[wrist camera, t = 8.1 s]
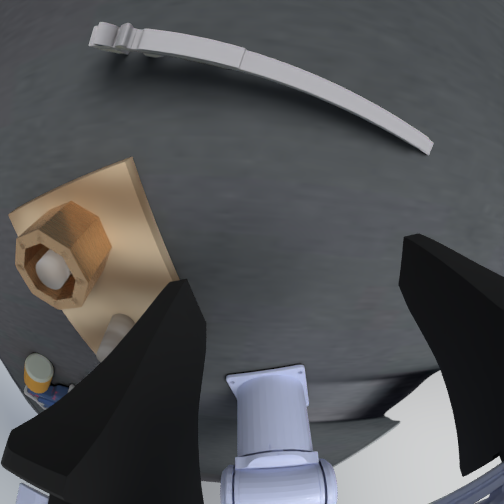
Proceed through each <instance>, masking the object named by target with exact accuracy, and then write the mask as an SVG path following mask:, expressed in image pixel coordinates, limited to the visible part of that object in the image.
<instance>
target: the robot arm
mask: <svg viewBox="0 0 504 504" xmlns="http://www.w3.org/2000/svg"><path fill="white" fill-rule="evenodd" d="M399 287H400V289H401V292H402V294H403V297H404V299H405V301H406V304H407V306H408V308H409V310H410V312H411V314H412V316H413V317H414V319H415V321H416V323H417V325H418V326H419V328H420V330H421V332H422V334H423V335H424V337H425V339H426V341H427V343H428V345H429V347H430V348H431V350H432V352H433V354H434V356H435V358H436V360H437V363H438V365H439V367H440V370H441V372H442V376H443V379H444V381H445V384H446V388H447V390H448V394H449V398H450V402H451V406H452V409H453V414H454V419H455V425H456V430H457V437H458V446H459V459H460V470H461V473H462V476H463V477H464V476H466V475H468V474H470V473H472V472H473V471H475V470H477V469H479V468H480V467H482V466H484V465H486V464H487V463H489V462H490V461H492V460H494V459H495V458H497V457H498V456H500V458H501V461H502V463H500V464H499V465H497V466H496V467H495V468H493V469H491V470H490V471H488V472H487V473H485V474H484V475H482V476H481V477H479V478H477V479H476V480H474V481H472V482H471V483H469V484H467V485H465V486H463V487H462V488H460V489H458V490H456V491H454V492H452V493H450V494H448V495H447V496H444V497H442V498H440V499H438V500H436V501H434V502H431V503H429V504H474V503H475V502H477V501H479V500H480V499H482V498H484V497H485V496H487V495H488V494H490V496H489V498H487V499H484V500H482V501H480V502H478V503H475V504H504V277H503V276H501V275H499V274H497V273H495V272H493V271H491V270H489V269H487V268H485V267H483V266H481V265H479V264H477V263H476V262H474V261H472V260H470V259H468V258H466V257H465V256H463V255H461V254H459V253H457V252H455V251H454V250H452V249H450V248H448V247H446V246H444V245H442V244H440V243H439V242H437V241H435V240H433V239H430V238H428V237H426V236H424V235H421V234H414V235H410V236H405V237H404V241H403V252H402V261H401V270H400V278H399ZM205 353H206V321H205V319H204V317H203V315H202V313H201V310H200V308H199V306H198V304H197V301H196V299H195V297H194V295H193V292H192V290H191V288H190V285H189V283H188V281H187V279H183V280H177V281H172V282H169V283H168V284H167V285H166V286H165V288H164V289H163V290H162V291H161V292H160V294H159V295H158V296H157V297H156V298H155V300H154V301H153V302H152V303H151V305H150V306H149V307H148V309H147V310H146V311H145V312H144V313H143V315H142V316H141V317H140V318H139V320H138V321H137V322H136V324H135V325H134V326H133V327H132V328H131V329H130V331H129V332H128V333H127V334H126V335H125V336H124V338H123V339H122V340H121V341H120V342H119V344H118V345H117V346H116V347H115V348H114V349H113V350H112V352H111V353H110V354H109V355H108V356H107V357H106V358H105V359H104V360H103V361H102V362H101V363H100V364H99V365H98V366H97V367H96V368H95V369H94V370H93V371H92V372H91V373H90V374H89V375H88V376H87V377H86V378H84V379H83V380H82V381H81V382H80V383H79V384H78V385H76V386H75V387H74V388H73V389H72V390H71V391H70V392H68V393H67V394H66V395H65V396H64V397H62V398H61V399H60V400H58V401H57V402H56V403H54V404H53V405H52V406H50V407H49V408H47V409H46V410H44V411H43V412H42V413H40V414H38V415H37V416H35V417H34V418H32V419H30V420H29V421H27V422H25V423H23V424H22V425H20V426H18V427H17V428H15V429H13V430H12V431H11V433H10V435H9V438H8V441H7V444H6V447H5V450H4V454H3V457H2V461H1V464H2V466H3V467H4V468H5V469H7V470H8V471H10V472H11V473H13V474H15V475H16V476H18V477H20V478H21V479H23V480H25V481H26V482H28V483H30V484H32V485H34V486H35V487H37V488H39V489H41V490H43V491H45V492H47V493H49V494H50V496H47V495H45V494H43V493H41V492H39V491H38V490H35V489H34V488H31V487H29V486H27V485H25V484H23V483H20V485H19V490H18V495H17V500H16V504H204V502H203V495H202V488H201V478H200V468H199V450H198V409H199V400H200V392H201V384H202V376H203V369H204V361H205ZM226 381H227V382H228V384H229V386H230V388H231V390H232V391H233V393H234V395H235V397H236V398H237V457H235V465H228V466H227V468H225V469H224V470H223V472H222V476H221V488H220V489H221V490H220V495H221V496H220V497H221V504H336V503H337V494H338V492H337V481H336V476H335V472H334V469H333V467H332V465H331V464H330V463H329V462H327V461H326V460H325V459H324V458H321V459H319V458H318V452H317V451H315V452H313V448H312V441H311V434H310V427H309V421H308V414H307V407H306V406H308V405H309V400H308V391H307V383H306V376H305V368H304V366H303V365H294V366H289V367H283V368H277V369H270V370H264V371H256V372H249V373H241V374H232V375H228V376H226Z"/></svg>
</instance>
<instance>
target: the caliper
mask: <svg viewBox="0 0 504 504" xmlns="http://www.w3.org/2000/svg"><path fill="white" fill-rule="evenodd" d="M89 46H90V47H93V48H96V49H99V50H104V51H109V52H114V53H118V54H127V55H128V54H129V51H135V52H142V53H143V54H144V55H146V56H148V57H155V58H157V57H164V56H169V57H175V58H181V59H185V60H189V61H194V62H198V63H203V64H208V65H213V66H217V67H220V68H224V69H228V70H236V71H240V72H243V73H247V74H250V75H254V76H257V77H260V78H263V79H267V80H270V81H273V82H276V83H279V84H282V85H284V86H287V87H290V88H293V89H295V90H298V91H301V92H303V93H306V94H309V95H311V96H314V97H316V98H318V99H321V100H323V101H326V102H328V103H330V104H333V105H335V106H337V107H339V108H341V109H344V110H346V111H348V112H350V113H352V114H354V115H356V116H358V117H360V118H362V119H364V120H366V121H368V122H370V123H372V124H374V125H376V126H378V127H380V128H382V129H384V130H385V131H387V132H389V133H391V134H393V135H394V136H396V137H398V138H400V139H402V140H403V141H405V142H407V143H409V144H410V145H412V146H414V147H416V148H417V149H419V150H421V151H422V152H424V153H425V154H427V155H429V154H430V151H431V149H432V146H433V144H434V143H433V142H432V141H431V140H429V138H428V137H427V136H425V135H424V134H423V133H421V132H420V131H418V130H417V129H415V128H414V127H412V126H411V125H409V124H407V123H406V122H404V121H403V120H401V119H400V118H398V117H396V116H395V115H393V114H391V113H390V112H388V111H386V110H385V109H383V108H381V107H379V106H378V105H376V104H374V103H372V102H370V101H369V100H367V99H365V98H363V97H361V96H359V95H357V94H355V93H353V92H351V91H349V90H347V89H345V88H343V87H341V86H339V85H337V84H335V83H333V82H330V81H328V80H326V79H324V78H321V77H319V76H317V75H315V74H312V73H310V72H307V71H305V70H302V69H300V68H297V67H295V66H292V65H289V64H287V63H284V62H281V61H278V60H276V59H273V58H270V57H267V56H264V55H261V54H257V53H254V52H251V51H247V50H246V49H245V48H242V47H239V46H235V45H231V44H228V43H224V42H220V41H215V40H211V39H207V38H202V37H197V36H192V35H187V34H181V33H175V32H169V31H162V30H154V29H144V30H139V29H136V28H133V26H132V25H131V24H130V23H126V24H123V25H121V28H119V27H118V26H116V25H113V24H109V23H105V22H100V23H99V26H94V29H93V33H92V36H91V39H90V42H89Z"/></svg>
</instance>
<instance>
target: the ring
mask: <svg viewBox="0 0 504 504" xmlns="http://www.w3.org/2000/svg"><path fill="white" fill-rule="evenodd" d="M111 248H112V245H111V243H110V241H109V239H108V236H107V234H106V232H105V230H104V228H103V225H102V223H101V221H100V218H99V217H98V216H97V215H95V214H94V213H92V212H90V211H88V210H87V209H85V208H83V207H81V206H80V205H78V204H76V203H74V202H73V201H69V202H67V203H64V204H62V205H59V206H57V207H54V208H52V209H50V210H48V211H47V212H46V213H45V214H43V215H42V216H41V217H40V218H39V219H38V220H37V221H35V222H34V223H33V224H32V225H31V226H30V227H29V228H28V229H26V230H25V231H24V232H23V233H22V234H21V235H20V236H19V237H18V238H17V241H16V260H15V266H16V267H17V269H18V271H19V273H20V274H21V276H22V278H23V279H24V281H25V283H26V284H27V286H28V287H29V289H30V291H31V292H32V294H34V295H36V296H37V297H39V298H40V299H42V300H43V301H45V302H47V303H48V304H50V305H51V306H53V307H55V308H56V309H58V310H62V309H70V308H78V307H82V306H83V304H84V302H85V301H86V299H87V297H88V295H89V294H90V292H91V290H92V289H93V287H94V285H95V283H96V282H97V280H98V279H99V277H100V275H101V274H102V272H103V270H104V268H105V265H106V262H107V259H108V257H109V254H110V251H111ZM49 249H51V250H52V251H54V252H56V253H57V254H59V255H60V256H62V257H63V259H64V260H65V262H66V264H67V266H68V268H69V270H70V271H71V274H70V276H69V277H68V279H67V280H66V282H65V283H64V284H63V286H62V287H61V288H60V289H57V290H55V289H51V288H49V287H47V286H46V285H45V284H43V283H42V281H41V280H40V279H39V277H38V275H37V272H36V264H37V262H38V261H39V260H40V259H41V258H42V257H43V255H44V254H45V253H46V252H47V251H48V250H49Z"/></svg>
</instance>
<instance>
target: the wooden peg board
mask: <svg viewBox="0 0 504 504" xmlns="http://www.w3.org/2000/svg"><path fill="white" fill-rule="evenodd" d="M69 201H73V202H74V203H76V204H78V205H80V206H81V207H83V208H85V209H87V210H88V211H90V212H92V213H94V214H95V215H97V216H98V217H99V218H100V221H101V223H102V225H103V228H104V230H105V232H106V234H107V236H108V239H109V241H110V243H111V245H112V248H111V251H110V254H109V257H108V259H107V262H106V265H105V268H104V270H103V272H102V274H101V275H100V277H99V279H98V280H97V282H96V283H95V285H94V287H93V289H92V290H91V292H90V294H89V295H88V297H87V299H86V301H85V302H84V304H83V306H82V307H78V308H70V309H62V311H63V312H64V314H65V315H66V317H67V318H68V319H69V321H70V322H71V324H72V325H73V326H74V328H75V329H76V330H77V332H78V333H79V334H80V336H81V337H82V338H83V339H84V341H85V342H86V343H87V344H88V346H89V347H90V348H91V349H92V351H93V352H94V353H95V354H96V357H97V359H98V360H99V361H100V362H102V361H103V360H104V359H105V358H106V357H107V356H108V355H109V354H110V353H111V352H112V350H113V349H114V348H115V347H116V346H117V345H118V344H119V342H120V341H121V340H122V339H123V338H124V336H125V335H126V334H127V333H128V332H129V331H130V329H131V328H132V327H133V326H134V325H135V324H136V322H137V321H138V320H139V318H140V317H141V316H142V315H143V313H144V312H145V311H146V310H147V309H148V307H149V306H150V305H151V303H152V302H153V301H154V300H155V298H156V297H157V296H158V295H159V294H160V292H161V291H162V290H163V289H164V288H165V286H166V285H167V284H168V283H169V282H172V281H177V280H180V279H179V277H178V275H177V273H176V270H175V268H174V266H173V263H172V261H171V259H170V256H169V254H168V251H167V249H166V247H165V244H164V242H163V239H162V237H161V234H160V232H159V229H158V227H157V224H156V222H155V219H154V216H153V214H152V211H151V208H150V206H149V203H148V200H147V198H146V195H145V192H144V189H143V187H142V184H141V181H140V178H139V175H138V172H137V169H136V167H135V164H134V161H133V158H132V157H130V158H127V159H124V160H122V161H119V162H116V163H114V164H111V165H108V166H106V167H103V168H101V169H98V170H96V171H93V172H91V173H89V174H86V175H84V176H82V177H79V178H77V179H75V180H72V181H70V182H68V183H66V184H64V185H61V186H59V187H57V188H55V189H53V190H51V191H49V192H47V193H45V194H43V195H41V196H39V197H37V198H35V199H33V200H31V201H29V202H27V203H25V204H23V205H22V206H20V207H18V208H16V209H15V210H14V211H12V212H11V213H10V214H9V218H10V220H11V222H12V224H13V226H14V229H15V231H16V233H17V235H18V237H19V236H20V235H21V234H22V233H23V232H24V231H25V230H26V229H28V228H29V227H30V226H31V225H32V224H33V223H34V222H35V221H37V220H38V219H39V218H40V217H41V216H42V215H43V214H45V213H46V212H47V211H48V210H50V209H52V208H54V207H57V206H59V205H62V204H64V203H67V202H69ZM36 272H37V275H38V277H39V279H40V280H41V281H42V283H43V284H45V285H46V286H47V287H49V288H51V289H55V290H57V289H60V288H61V287H62V286H63V284H64V283H65V282H66V280H67V279H68V277H69V276H70V274H71V271H70V270H69V268H68V266H67V264H66V262H65V260H64V259H63V257H62V256H60V255H59V254H57V253H56V252H54V251H52V250H51V249H49V250H48V251H47V252H46V253H45V254H44V255H43V257H42V258H41V259H40V260H39V261H38V262H37V264H36Z"/></svg>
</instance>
